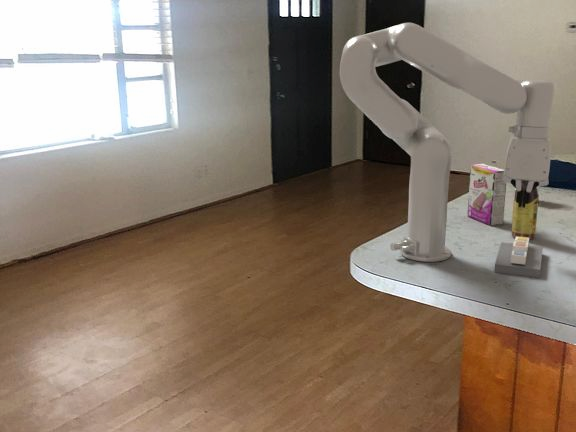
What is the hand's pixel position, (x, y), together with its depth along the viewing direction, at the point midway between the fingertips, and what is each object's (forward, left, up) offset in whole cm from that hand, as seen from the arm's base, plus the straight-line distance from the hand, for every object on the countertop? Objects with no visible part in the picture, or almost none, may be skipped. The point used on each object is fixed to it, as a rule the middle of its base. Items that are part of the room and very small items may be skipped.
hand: (521, 206), depth 153 cm
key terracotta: (-5, -6, -11) cm, 13 cm away
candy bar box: (+12, +28, -13) cm, 33 cm away
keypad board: (-4, -4, -13) cm, 14 cm away
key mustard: (+1, -1, -12) cm, 12 cm away
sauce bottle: (+11, +11, -13) cm, 20 cm away
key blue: (-8, -8, -12) cm, 17 cm away
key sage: (-2, -3, -12) cm, 13 cm away
